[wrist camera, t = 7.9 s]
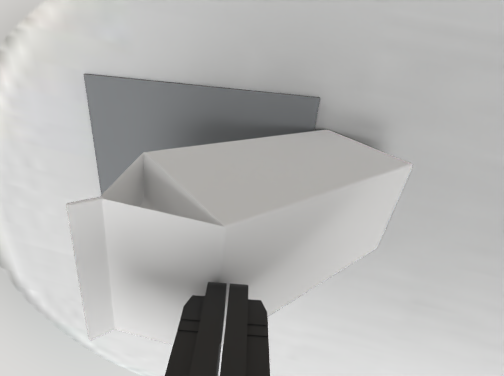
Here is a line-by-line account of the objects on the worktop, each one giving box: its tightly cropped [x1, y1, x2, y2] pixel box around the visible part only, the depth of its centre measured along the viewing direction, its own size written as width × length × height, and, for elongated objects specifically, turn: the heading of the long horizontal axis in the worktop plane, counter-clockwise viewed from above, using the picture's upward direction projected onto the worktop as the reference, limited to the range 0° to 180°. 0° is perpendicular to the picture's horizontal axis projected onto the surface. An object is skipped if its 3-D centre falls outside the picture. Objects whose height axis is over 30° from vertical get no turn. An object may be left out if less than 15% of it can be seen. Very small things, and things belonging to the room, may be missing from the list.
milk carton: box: [66, 130, 413, 346], centre depth 17 cm, size 7×7×19 cm
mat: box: [84, 74, 320, 195], centre depth 25 cm, size 18×12×1 cm, turn 85°
